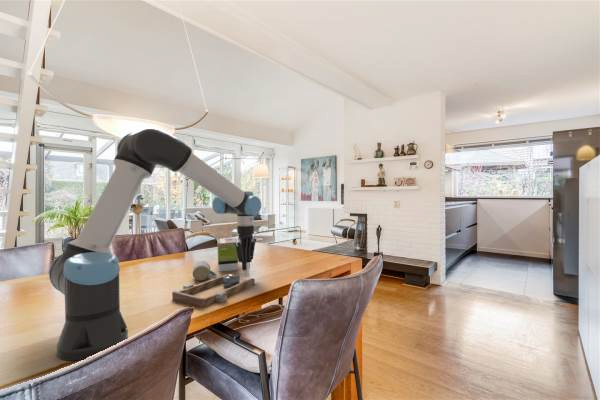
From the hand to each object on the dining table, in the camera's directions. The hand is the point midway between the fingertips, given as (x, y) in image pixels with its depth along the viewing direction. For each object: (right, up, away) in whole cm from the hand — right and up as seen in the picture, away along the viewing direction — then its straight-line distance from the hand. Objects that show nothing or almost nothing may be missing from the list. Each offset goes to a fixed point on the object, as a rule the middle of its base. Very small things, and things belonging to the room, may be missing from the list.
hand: (246, 276), depth 133 cm
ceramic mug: (-20, -2, +2) cm, 20 cm away
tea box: (-14, -1, +22) cm, 26 cm away
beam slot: (-9, -2, -15) cm, 18 cm away
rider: (-5, -2, -8) cm, 10 cm away
